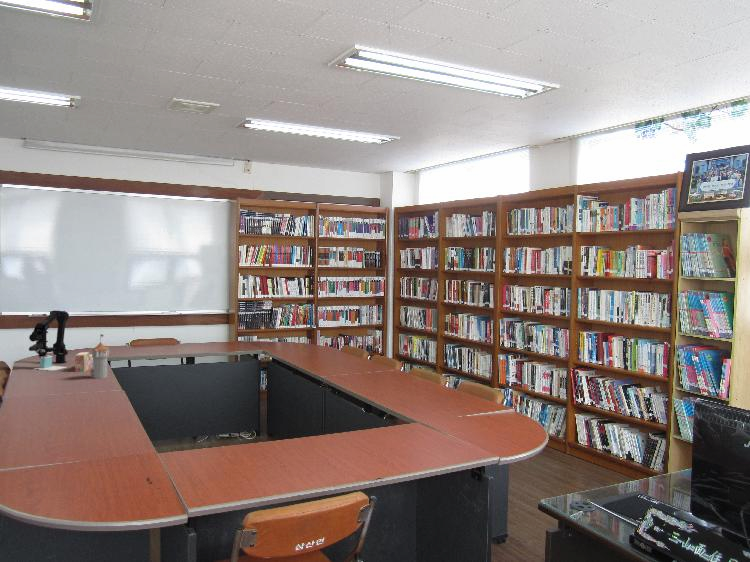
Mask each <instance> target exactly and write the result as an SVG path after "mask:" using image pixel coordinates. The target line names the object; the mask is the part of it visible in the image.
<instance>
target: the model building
mask: <svg viewBox="0 0 750 562" xmlns="http://www.w3.org/2000/svg"><path fill="white" fill-rule="evenodd" d="M104 336H105V334H100V339H99V340H100V342H99V343H98V344H97V345H96V346H95V347H93V348H92V350H91V354H92V357H93V368H92V369H91V370H89V372H90V378H93V379H106V378H108V357H109V355H110V347H108V346H105V345H104V344H103V343H102V341H101V339H102V338H103V337H104Z"/></svg>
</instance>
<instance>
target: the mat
mask: <svg viewBox="0 0 750 562" xmlns="http://www.w3.org/2000/svg"><path fill="white" fill-rule="evenodd" d="M35 369H39V371H47V370H48V371H49V372H50V371H51V372H52V371H53V370H54V371H57V370H62V369H67V366H58V365H52V367H49V368H40V366H39V367H35V368H34V370H35Z"/></svg>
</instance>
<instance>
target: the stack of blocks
mask: <svg viewBox="0 0 750 562" xmlns="http://www.w3.org/2000/svg"><path fill="white" fill-rule="evenodd" d="M74 357H75V358H74V364H75V365H74V366H75V367H74V372H77V373H78V372H82V373H83V372H86V371H88V370H90V369H91V368H93V367H94V360H93V357H92V353H91V354H90V351H87V352H85V351H84V352H83V351H82V352H79V353H77V354H75V355H74Z"/></svg>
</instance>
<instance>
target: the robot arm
mask: <svg viewBox="0 0 750 562" xmlns="http://www.w3.org/2000/svg"><path fill="white" fill-rule="evenodd" d="M69 317H70V314H69V312H67V311H60V310H52V311H51V312H50V314H49V315H48V316H46V317H45V318H44V319H43V320H41V321H38V322H37V323H36V324H35V327H34V329H33V331H32V332H31V334H29V337H28V338H29V341H30V342H35V343H34V344H33V345H30V346H29V348H28V351H29V352H33V351H34V352H35V353H36V354H37V355H38V357H39V358H40V357H43V356H47V355H48V354H47V353H52V354H53V356H55V361H54V364H65V363H68V361H66V356H67V355H68V353H69V351H68V350H67V348H66V344H65V342H64V340H65V331H66V329H65V328H66V323H67V322H68V321H69ZM55 320H56V322H57V332H56V341H55V343H53V344H52V347H49V346H47V343H48V341H49V340H47V335H48V334H49V331H48V330H49V328H50V325H51V323H52V322H54V321H55Z"/></svg>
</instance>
